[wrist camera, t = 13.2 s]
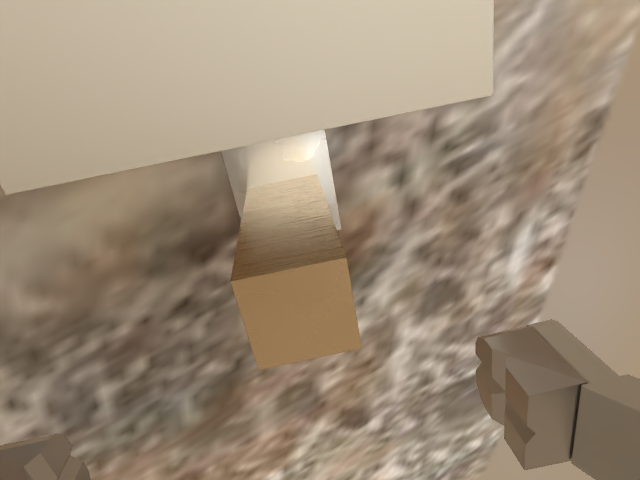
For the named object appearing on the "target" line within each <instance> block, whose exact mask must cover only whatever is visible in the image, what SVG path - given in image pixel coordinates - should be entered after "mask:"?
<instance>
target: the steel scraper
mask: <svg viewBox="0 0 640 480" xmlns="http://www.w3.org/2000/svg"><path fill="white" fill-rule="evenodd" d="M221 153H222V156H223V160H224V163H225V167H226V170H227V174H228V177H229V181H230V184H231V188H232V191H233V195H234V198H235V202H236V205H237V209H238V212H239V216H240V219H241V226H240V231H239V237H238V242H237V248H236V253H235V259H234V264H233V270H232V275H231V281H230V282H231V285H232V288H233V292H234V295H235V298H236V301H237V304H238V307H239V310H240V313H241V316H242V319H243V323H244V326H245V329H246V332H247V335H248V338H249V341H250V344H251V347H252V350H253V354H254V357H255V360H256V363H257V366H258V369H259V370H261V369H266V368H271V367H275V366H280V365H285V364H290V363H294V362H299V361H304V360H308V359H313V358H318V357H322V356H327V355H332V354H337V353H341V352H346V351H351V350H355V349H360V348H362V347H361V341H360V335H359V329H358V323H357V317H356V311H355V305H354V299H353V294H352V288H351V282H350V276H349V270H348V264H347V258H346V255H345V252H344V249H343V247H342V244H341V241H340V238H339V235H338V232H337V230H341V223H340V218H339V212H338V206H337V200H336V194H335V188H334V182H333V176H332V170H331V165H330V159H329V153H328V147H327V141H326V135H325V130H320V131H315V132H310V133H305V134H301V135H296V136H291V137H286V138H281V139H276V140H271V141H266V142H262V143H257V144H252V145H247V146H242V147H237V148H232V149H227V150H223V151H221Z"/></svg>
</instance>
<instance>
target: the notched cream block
mask: <svg viewBox="0 0 640 480" xmlns="http://www.w3.org/2000/svg"><path fill="white" fill-rule="evenodd" d="M493 14H494V0H0V185H1V187H2V189H3V190H4V192H5V194H6V195H8V194H13V193H18V192H23V191H28V190H32V189H37V188H42V187H47V186H52V185H57V184H62V183H67V182H71V181H76V180H81V179H86V178H91V177H96V176H101V175H106V174H110V173H115V172H120V171H125V170H130V169H135V168H140V167H145V166H149V165H154V164H159V163H164V162H169V161H174V160H179V159H184V158H188V157H193V156H198V155H203V154H208V153H213V152H218V151H223V150H227V149H232V148H237V147H242V146H247V145H252V144H257V143H262V142H266V141H271V140H276V139H281V138H286V137H291V136H296V135H301V134H305V133H310V132H315V131H320V130H325V129H330V128H335V127H340V126H344V125H349V124H354V123H359V122H364V121H369V120H374V119H379V118H383V117H388V116H393V115H398V114H403V113H408V112H413V111H418V110H422V109H427V108H432V107H437V106H442V105H447V104H452V103H456V102H461V101H466V100H471V99H476V98H481V97H486V96H491V95H493Z"/></svg>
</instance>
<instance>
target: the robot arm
mask: <svg viewBox="0 0 640 480" xmlns="http://www.w3.org/2000/svg"><path fill="white" fill-rule="evenodd" d="M476 355H477V356H478V358H479V359H480V361H481V362H482V363H481V364H480V365H479V367H478V368H477V370H476V382H477V387H478V390H479V394H480V398H481V400H482V402H483V404H484V406H485V408H486V410H487V412H488V413H489V415H490V416H491V418H492V419H493V420H495V421H497V422H499V423H500V424H502V425H504V439H505V440H506V442H507V444H508V445H509V447H510V448H511V450H512V451H513V453H514V454H515V456H516V458H517V459H518V461H519V462H520V464H521V466H522V467H523V469H524V470H528V469H533V468H538V467H543V466H548V465H552V464H557V463H562V462H567V461H571V463H572V464H573V465H575V466H576V467H578V468H579V469H581V470H582V471H584V472H585V473H587V474H588V475H590V476H591V477H592V478H594V479H595V480H640V379H639V378H636V377H633V376H631V375H623V376H619V375H618V374H616V373H615V372H614V371H613V370H612V369H611V368H610V367H609V366H608V365H606V364H605V363H604V362H603V361H602V360H601V359H600V358H598V357H597V356H596V355H595V354H594V353H593V352H592V351H591V350H590V349H588V348H587V347H586V346H585V345H584V344H583V343H582V342H581V341H579V340H578V339H577V338H576V337H575V336H574V335H573V334H572V333H570V332H569V331H568V330H567V329H566V328H565V327H564V326H562V325H561V324H560V323H559V322H557V321H555V320H552V319H551V320H547V321H543V322H539V323H535V324H531V325H527V326H523V327H519V328H515V329H511V330H507V331H502V332H498V333H494V334H490V335H486V336H481V337H478V338H477V341H476ZM72 447H73V445H72V444H71V442H70V441H69V440H68V438H67V437H66V436H65V434H52V435H47V436H42V437H37V438H32V439H28V440H23V441H18V442H13V443H8V444H4V445H2V446H0V480H91V479H90V475H89V471H88V469H87V467H86V466H85V464H84V462H83V461H81V460H79V459H77V458H75V457H72V456H70V454H71V450H72Z"/></svg>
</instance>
